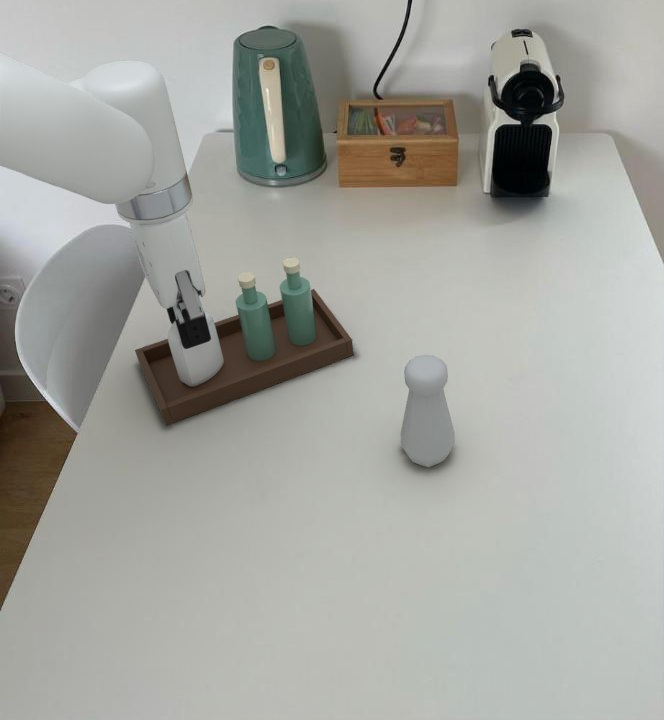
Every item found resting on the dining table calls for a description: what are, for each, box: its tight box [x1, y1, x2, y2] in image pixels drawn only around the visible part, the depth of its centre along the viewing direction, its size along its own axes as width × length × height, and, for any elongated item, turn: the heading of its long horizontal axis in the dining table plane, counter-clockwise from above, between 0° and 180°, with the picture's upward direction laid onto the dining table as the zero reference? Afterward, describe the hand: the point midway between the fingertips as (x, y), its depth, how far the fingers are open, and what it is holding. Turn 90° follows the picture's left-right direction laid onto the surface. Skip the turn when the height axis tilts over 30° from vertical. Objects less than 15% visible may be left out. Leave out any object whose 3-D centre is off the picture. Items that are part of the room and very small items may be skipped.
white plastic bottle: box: [166, 292, 224, 387], centre depth 93 cm, size 4×6×12 cm
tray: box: [134, 288, 355, 426], centre depth 99 cm, size 24×12×3 cm, turn 118°
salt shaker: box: [400, 354, 456, 468], centre depth 83 cm, size 6×6×13 cm
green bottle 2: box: [279, 257, 317, 346], centre depth 98 cm, size 4×4×11 cm
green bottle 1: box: [235, 271, 276, 361], centre depth 96 cm, size 4×4×11 cm
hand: (190, 330), depth 93 cm, fingers closed on white plastic bottle, 4 cm apart
